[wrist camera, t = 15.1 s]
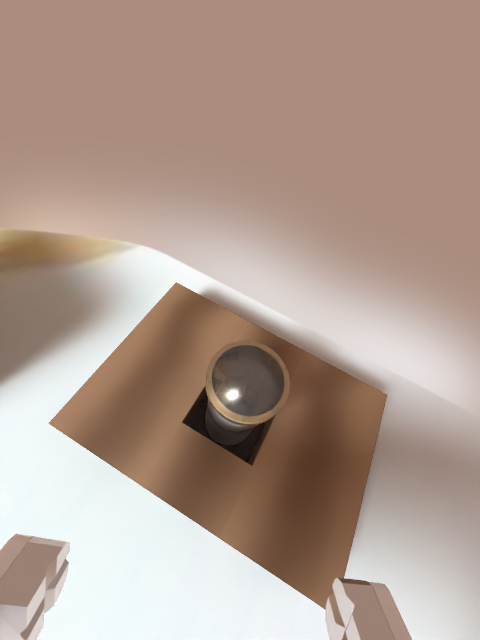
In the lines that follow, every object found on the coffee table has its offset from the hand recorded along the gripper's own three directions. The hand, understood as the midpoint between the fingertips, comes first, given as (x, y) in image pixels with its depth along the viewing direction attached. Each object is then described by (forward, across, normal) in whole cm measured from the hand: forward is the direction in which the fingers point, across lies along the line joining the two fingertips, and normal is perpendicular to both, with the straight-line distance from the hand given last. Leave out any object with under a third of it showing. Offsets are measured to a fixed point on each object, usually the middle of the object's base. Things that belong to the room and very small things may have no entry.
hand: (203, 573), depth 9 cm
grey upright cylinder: (+15, -1, +4) cm, 15 cm away
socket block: (+15, -1, +4) cm, 15 cm away
